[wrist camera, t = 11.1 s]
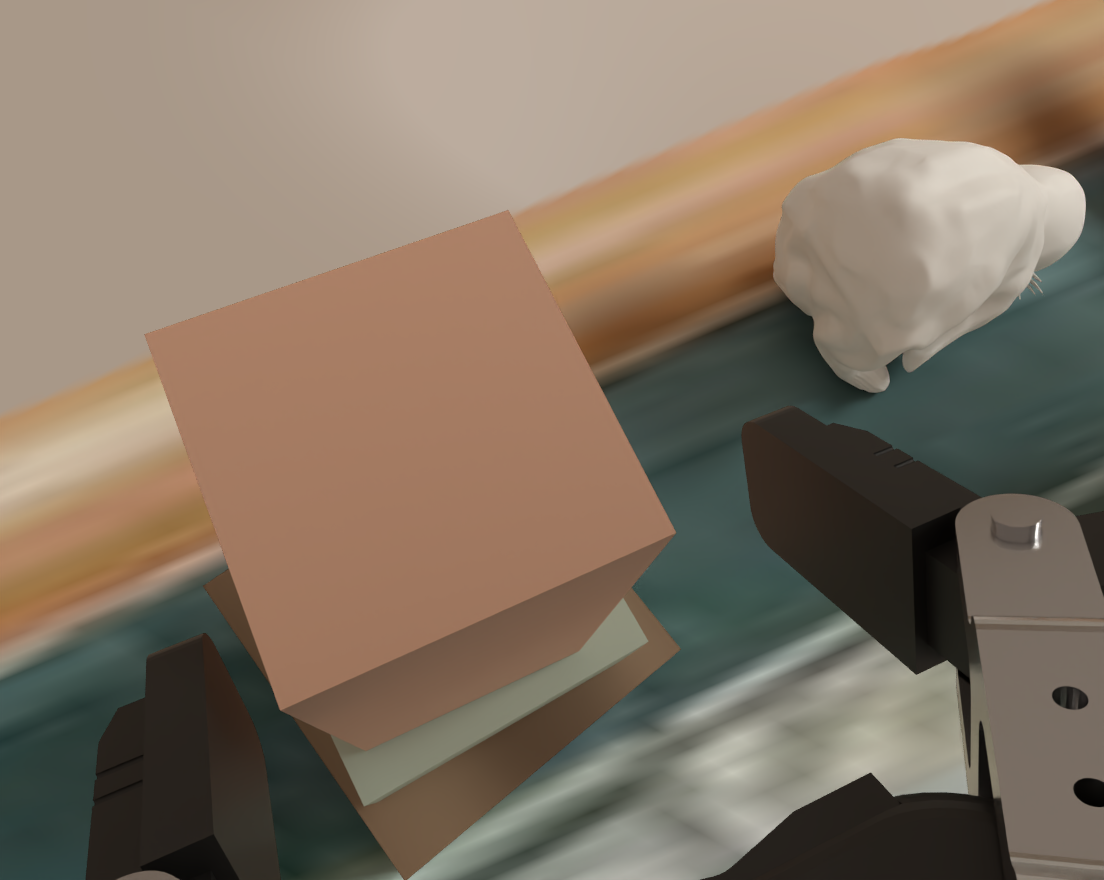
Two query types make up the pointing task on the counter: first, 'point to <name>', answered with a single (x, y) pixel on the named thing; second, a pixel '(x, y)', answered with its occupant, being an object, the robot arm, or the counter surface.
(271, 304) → the terracotta block
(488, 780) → the walnut base block
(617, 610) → the grey-green top block
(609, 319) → the counter surface
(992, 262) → the white lumpy piece
